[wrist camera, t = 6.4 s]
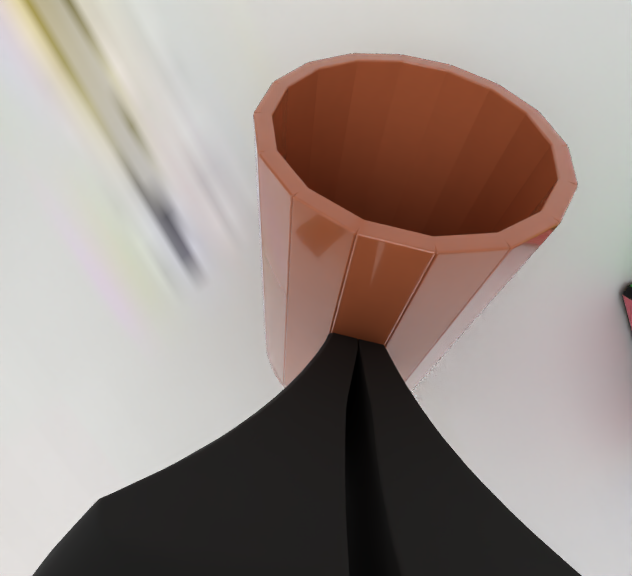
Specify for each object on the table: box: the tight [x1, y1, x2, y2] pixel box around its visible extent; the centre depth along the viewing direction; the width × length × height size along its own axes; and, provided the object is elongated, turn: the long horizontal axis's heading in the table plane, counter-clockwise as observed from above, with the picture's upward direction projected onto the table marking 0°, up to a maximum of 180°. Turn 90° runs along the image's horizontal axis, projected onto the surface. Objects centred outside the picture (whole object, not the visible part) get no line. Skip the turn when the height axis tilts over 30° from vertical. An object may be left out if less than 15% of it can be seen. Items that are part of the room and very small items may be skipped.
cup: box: [253, 53, 578, 391], centre depth 12 cm, size 7×7×10 cm
